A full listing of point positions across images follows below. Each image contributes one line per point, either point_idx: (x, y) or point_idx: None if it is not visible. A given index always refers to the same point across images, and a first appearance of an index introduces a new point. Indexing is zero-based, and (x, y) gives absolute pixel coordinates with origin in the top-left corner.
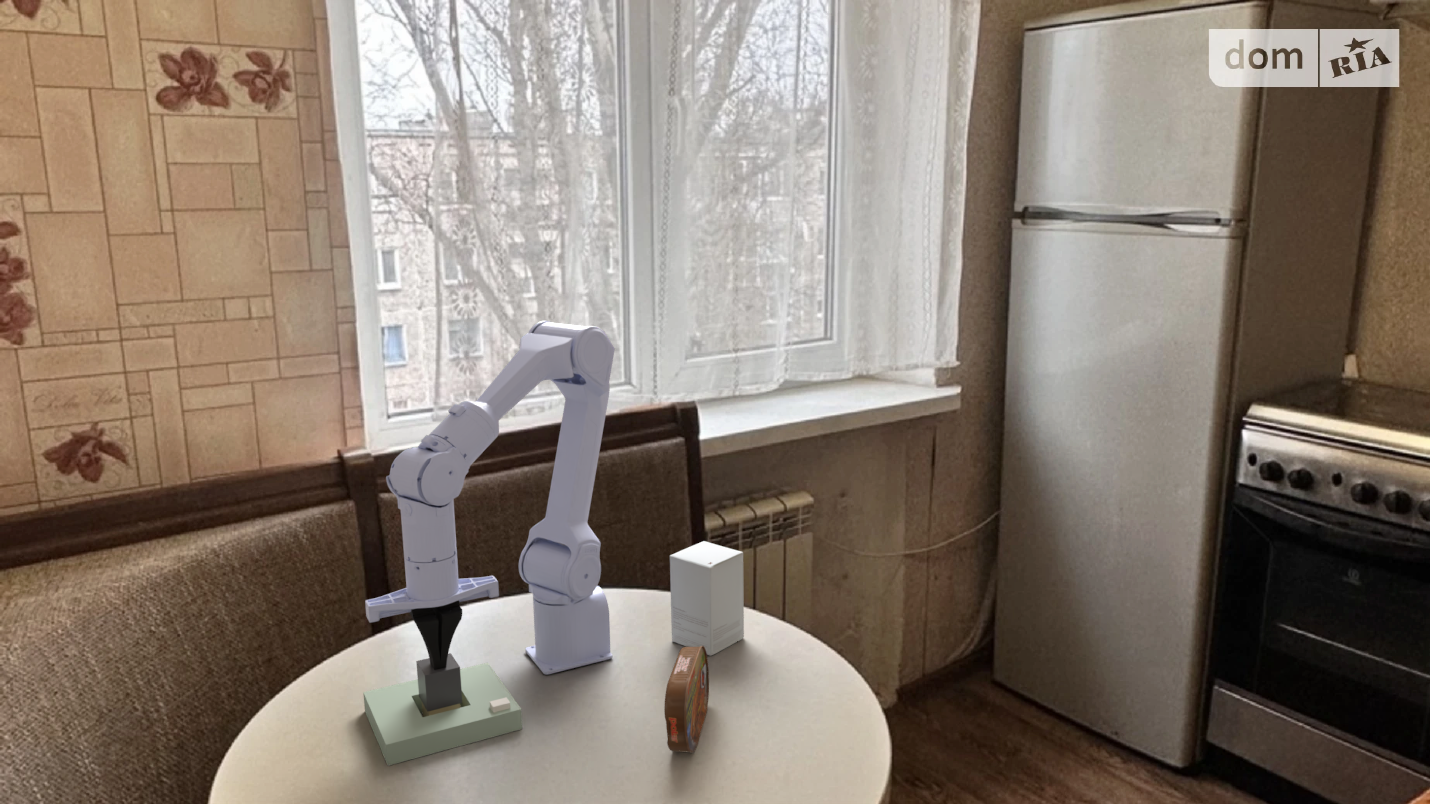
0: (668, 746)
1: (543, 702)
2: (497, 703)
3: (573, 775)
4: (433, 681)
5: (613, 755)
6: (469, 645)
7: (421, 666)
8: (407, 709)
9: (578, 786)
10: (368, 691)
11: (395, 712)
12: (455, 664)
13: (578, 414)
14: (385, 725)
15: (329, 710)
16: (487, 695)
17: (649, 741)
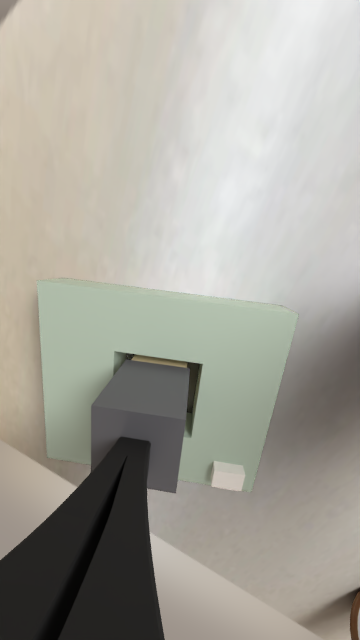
0: (350, 628)
1: (311, 421)
2: (222, 482)
3: (239, 558)
4: None
5: (298, 559)
6: (343, 102)
7: (95, 437)
8: (95, 390)
9: (232, 572)
10: (46, 284)
11: (76, 387)
12: (171, 477)
13: None
14: (54, 412)
15: (11, 235)
16: (228, 428)
17: (352, 564)
